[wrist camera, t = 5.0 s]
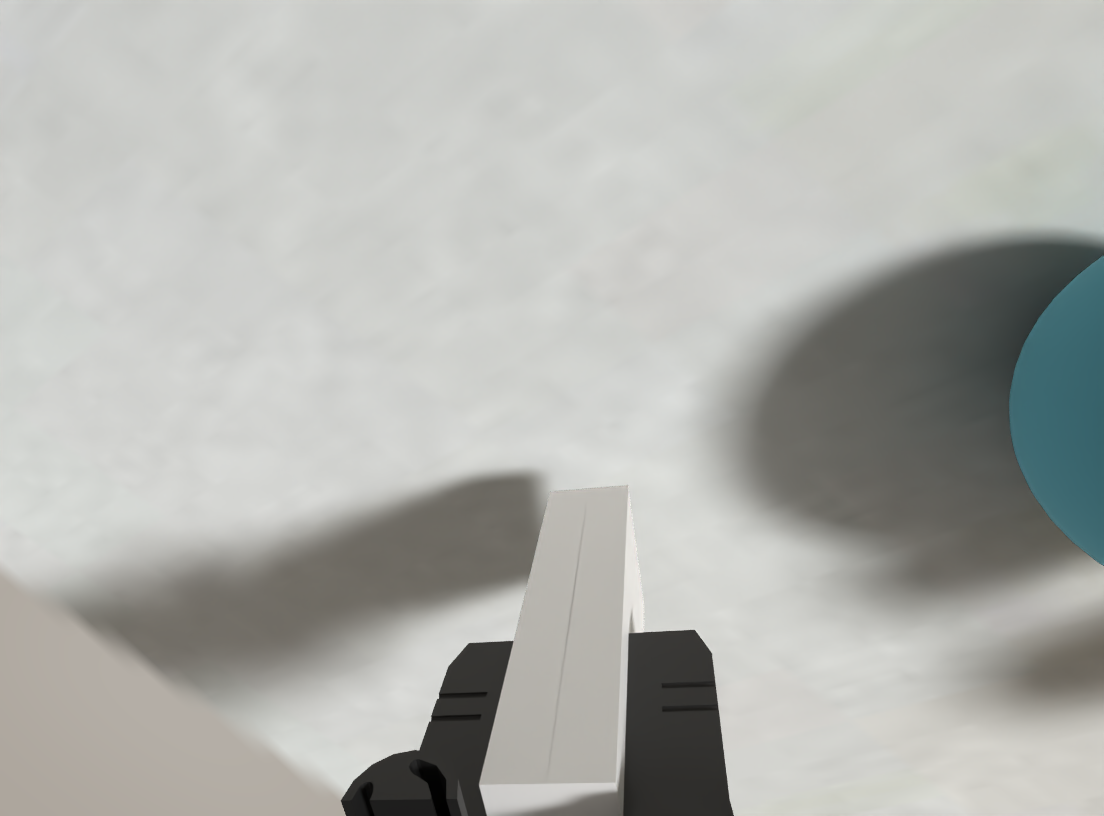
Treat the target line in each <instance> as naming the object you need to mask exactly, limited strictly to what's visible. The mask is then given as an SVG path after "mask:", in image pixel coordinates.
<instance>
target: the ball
mask: <svg viewBox="0 0 1104 816" xmlns="http://www.w3.org/2000/svg"><path fill="white" fill-rule="evenodd" d="M1009 420H1010V432H1011V438H1012V443H1013V447H1014V451H1015V455H1016V458H1017V461H1018V464H1019V466H1020V469H1021V471H1022V473H1023V475H1024V477H1025V480H1026V482H1027V484H1028V486H1029V488H1030V490H1031V492H1032V493H1033V495H1034V497H1035V498H1036V499H1037V501H1038V502H1039V504H1040V505H1041V506H1042V508H1043V509H1044V511H1045V512H1046V513H1047V515H1048V516H1049V518H1050V519H1051V520H1052V521H1053V522H1054V523H1055V524H1056V525H1057V526H1058V527H1059V528H1060V529H1061V531H1062V532H1063V533H1064V534H1065V535H1066V536H1067V537H1068V538H1069V539H1070V540H1071V541H1072V542H1073V543H1074V544H1076V545H1077V546H1078V547H1079V548H1081V549H1082V550H1083V551H1084V552H1086V553H1087V554H1088V555H1089V556H1091V557H1092V558H1093V559H1094V560H1096V561H1097V562H1099V563H1100V564H1101V565H1103V566H1104V255H1103V256H1102V257H1100V258H1099V259H1098V260H1096V261H1095V262H1094V263H1092V264H1091V265H1090V266H1089V267H1087V268H1086V269H1085V270H1083V271H1082V272H1081V273H1079V274H1078V275H1077V276H1076V277H1075V278H1074V279H1073V280H1072V281H1071V282H1070V283H1069V284H1068V285H1067V286H1066V287H1065V288H1064V289H1063V290H1062V291H1061V292H1060V293H1059V294H1058V295H1057V296H1056V297H1055V298H1054V299H1053V300H1052V301H1051V303H1050V304H1049V305H1048V307H1047V308H1046V309H1045V310H1044V312H1043V313H1042V314H1041V316H1040V317H1039V318H1038V320H1037V322H1036V323H1035V325H1034V327H1033V329H1032V330H1031V332H1030V334H1029V335H1028V337H1027V339H1026V341H1025V343H1024V345H1023V348H1022V350H1021V353H1020V356H1019V358H1018V361H1017V363H1016V366H1015V370H1014V375H1013V380H1012V385H1011V390H1010V398H1009Z"/></svg>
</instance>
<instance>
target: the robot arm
mask: <svg viewBox="0 0 1104 816" xmlns="http://www.w3.org/2000/svg"><path fill="white" fill-rule="evenodd" d="M431 717H432V720H431V722H429V724H428V727H427V730H426V733H425V736H424V739H423V741H422V744H421V747H420V750H419V751H417V750H414V751H409V752H403V753H398V754H393V755H391V756H389V757H387V758H385V759H383V760H381V761H379V762H377V763H375V764H373V765H371V766H370V767H369V768H368V769H367V770H365V771H364V772H363V773H362V774H361V775H360V776H359V777H357V778H356V779H355V780H354V781H353V782H352V784H351V786H350V787H349V789H348V790H347V792H346V793H345V795H344V796H343V798H342V800H341V802H342V805H343V808H344V811H345V814H346V816H734V815H733V811H732V807H731V803H730V800H729V792H728V783H727V775H726V767H725V759H724V750H723V742H722V734H721V726H720V717H719V710H718V701H717V693H716V685H715V676H714V668H713V660H712V653H711V651H710V650H709V649H708V647H707V646H706V645H705V643H704V642H703V641H702V639H701V638H700V636H699V635H698V634H697V632H696V631H695V630H684V631H663V632H644V600H643V593H642V585H641V577H640V570H639V562H638V555H637V547H636V540H635V532H634V525H633V517H632V510H631V502H630V494H629V487H628V485H625V486H612V487H600V488H588V489H576V490H564V491H552V492H550V493H549V497H548V501H547V506H546V510H545V514H544V518H543V522H542V526H541V530H540V534H539V539H538V543H537V547H536V551H535V555H534V559H533V563H532V568H531V572H530V576H529V580H528V584H527V588H526V592H525V596H524V601H523V605H522V609H521V613H520V617H519V621H518V625H517V629H516V634H515V638H514V641H504V642H483V643H469V644H468V645H467V646H466V647H465V648H464V649H463V651H462V652H461V653H460V654H459V655H458V656H457V658H456V659H455V660H454V661H453V662H452V663H451V664H450V666H449V667H448V669H447V672H446V675H445V678H444V681H443V684H442V687H441V690H440V692H439V699H437V701H436V704H435V707H434V710H433V713H432V715H431Z"/></svg>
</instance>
